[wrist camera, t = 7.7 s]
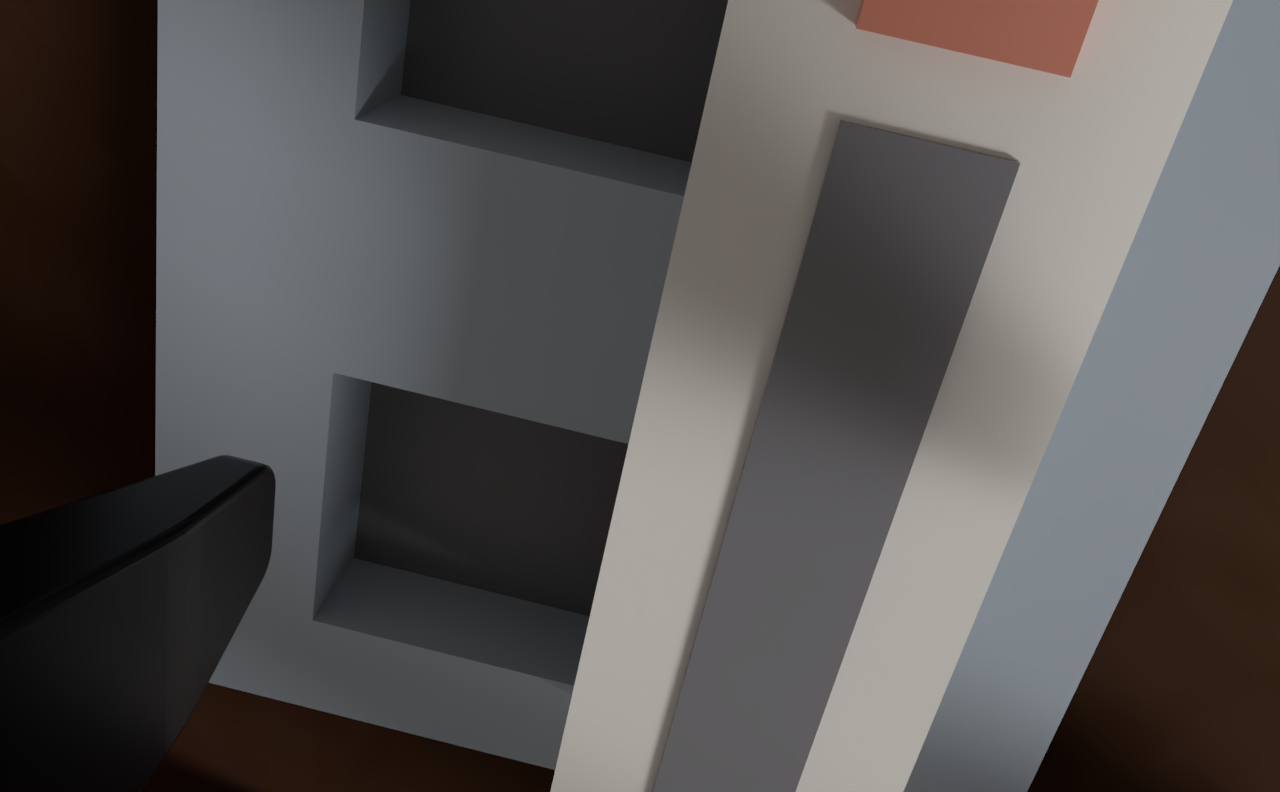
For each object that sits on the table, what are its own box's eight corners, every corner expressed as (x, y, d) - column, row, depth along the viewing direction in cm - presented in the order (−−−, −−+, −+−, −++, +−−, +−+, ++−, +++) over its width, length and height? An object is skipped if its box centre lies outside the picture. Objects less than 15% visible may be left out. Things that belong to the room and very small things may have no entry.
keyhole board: (968, 787, 20) (985, 878, 18) (212, 598, 20) (153, 668, 18) (1421, -226, 13) (1523, -244, 11) (248, -477, 13) (161, -533, 11)
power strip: (826, 694, 19) (835, 979, 14) (597, 637, 19) (525, 898, 14) (1125, -145, 13) (1316, -161, 8) (793, -218, 13) (788, -276, 8)
